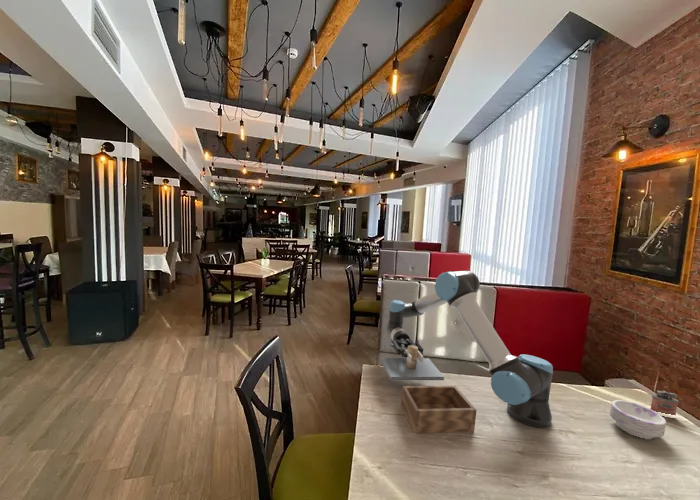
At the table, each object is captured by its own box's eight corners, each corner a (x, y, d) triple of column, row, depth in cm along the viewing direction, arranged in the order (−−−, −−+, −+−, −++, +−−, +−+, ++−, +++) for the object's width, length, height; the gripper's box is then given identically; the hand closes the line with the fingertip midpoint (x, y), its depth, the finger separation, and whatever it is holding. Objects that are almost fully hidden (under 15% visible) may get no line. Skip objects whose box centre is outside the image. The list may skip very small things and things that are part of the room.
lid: (428, 361, 148) (430, 339, 147) (443, 380, 131) (446, 356, 130) (380, 361, 144) (382, 339, 143) (390, 380, 128) (392, 355, 127)
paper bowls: (660, 431, 118) (664, 411, 117) (665, 452, 107) (669, 430, 106) (608, 412, 128) (611, 394, 127) (607, 430, 116) (610, 410, 116)
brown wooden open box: (453, 404, 127) (455, 385, 126) (474, 431, 111) (476, 410, 110) (400, 405, 123) (402, 386, 123) (414, 433, 108) (416, 411, 107)
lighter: (651, 414, 129) (655, 391, 128) (647, 409, 132) (651, 387, 131) (677, 420, 126) (681, 396, 125) (672, 415, 129) (676, 392, 128)
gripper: (416, 345, 156) (435, 368, 133) (382, 344, 154) (395, 368, 131) (418, 330, 155) (437, 351, 132) (383, 330, 153) (397, 350, 130)
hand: (416, 359), depth 132 cm, fingers closed on lid, 4 cm apart
